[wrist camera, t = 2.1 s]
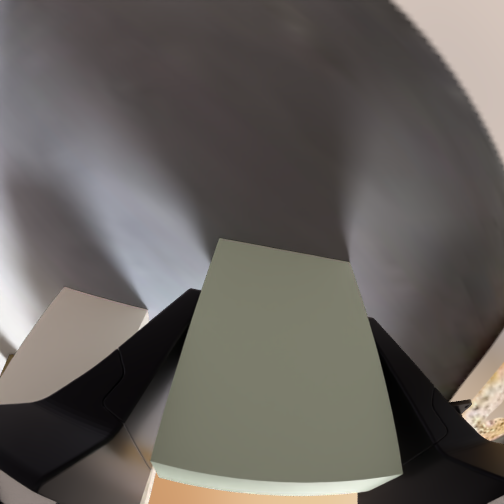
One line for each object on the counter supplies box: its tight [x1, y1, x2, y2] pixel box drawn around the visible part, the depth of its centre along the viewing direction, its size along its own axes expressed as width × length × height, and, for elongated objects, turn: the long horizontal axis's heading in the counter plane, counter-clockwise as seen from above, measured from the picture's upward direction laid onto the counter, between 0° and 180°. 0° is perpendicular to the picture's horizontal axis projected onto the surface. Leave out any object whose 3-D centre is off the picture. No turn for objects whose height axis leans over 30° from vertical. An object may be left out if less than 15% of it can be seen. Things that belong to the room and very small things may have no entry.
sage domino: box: [150, 238, 403, 496], centre depth 8 cm, size 2×5×8 cm, turn 81°
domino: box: [0, 287, 149, 404], centre depth 10 cm, size 2×5×8 cm, turn 81°
